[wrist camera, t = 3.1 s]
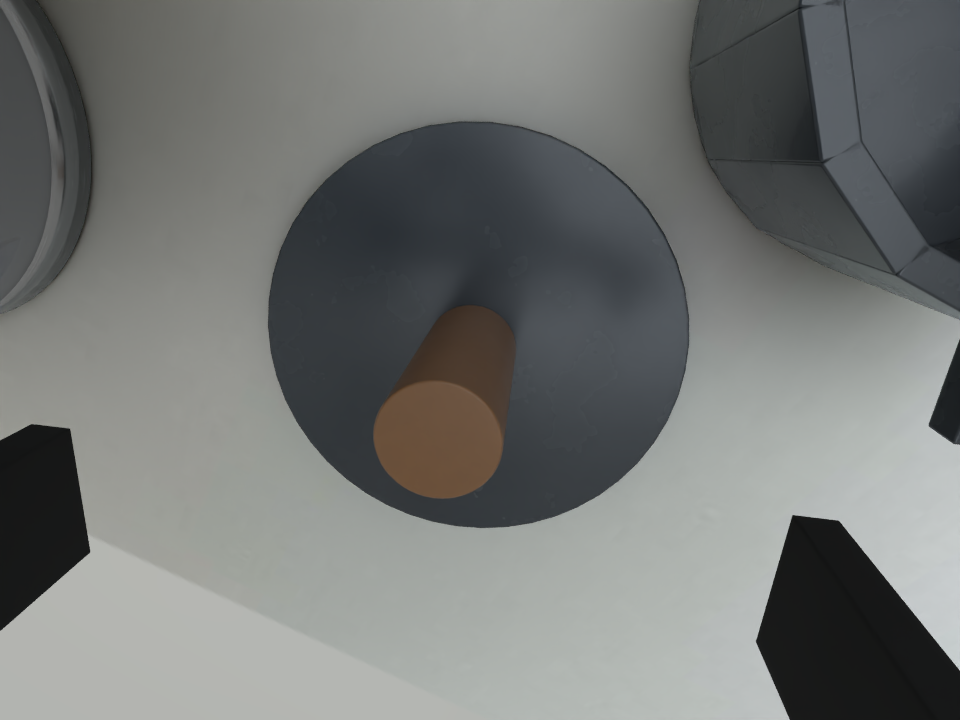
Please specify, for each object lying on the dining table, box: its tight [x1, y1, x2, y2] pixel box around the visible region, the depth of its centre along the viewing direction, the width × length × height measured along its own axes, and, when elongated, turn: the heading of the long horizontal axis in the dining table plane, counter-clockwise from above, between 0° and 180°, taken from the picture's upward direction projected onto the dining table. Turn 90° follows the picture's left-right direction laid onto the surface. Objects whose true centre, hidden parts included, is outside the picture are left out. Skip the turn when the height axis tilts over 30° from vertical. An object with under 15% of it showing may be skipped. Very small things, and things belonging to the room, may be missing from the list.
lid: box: [268, 122, 689, 528], centre depth 19 cm, size 15×15×9 cm
